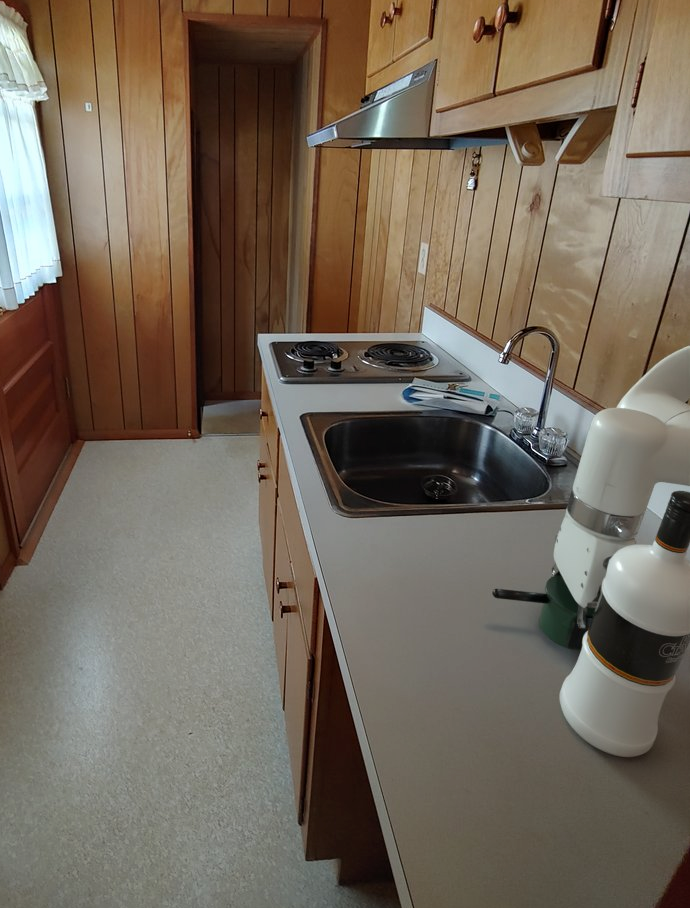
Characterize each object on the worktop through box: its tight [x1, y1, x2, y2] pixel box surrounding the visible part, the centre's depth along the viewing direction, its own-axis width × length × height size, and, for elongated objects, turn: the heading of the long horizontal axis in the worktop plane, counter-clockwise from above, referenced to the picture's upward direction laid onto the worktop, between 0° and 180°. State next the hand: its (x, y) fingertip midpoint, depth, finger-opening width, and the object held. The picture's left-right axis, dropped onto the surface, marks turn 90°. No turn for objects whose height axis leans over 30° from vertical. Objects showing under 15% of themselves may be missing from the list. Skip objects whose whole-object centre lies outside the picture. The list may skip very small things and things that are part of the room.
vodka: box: [558, 490, 690, 758], centre depth 56 cm, size 9×9×30 cm
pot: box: [491, 575, 598, 651], centre depth 72 cm, size 14×7×6 cm, turn 83°
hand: (568, 622), depth 72 cm, fingers closed on pot, 7 cm apart
